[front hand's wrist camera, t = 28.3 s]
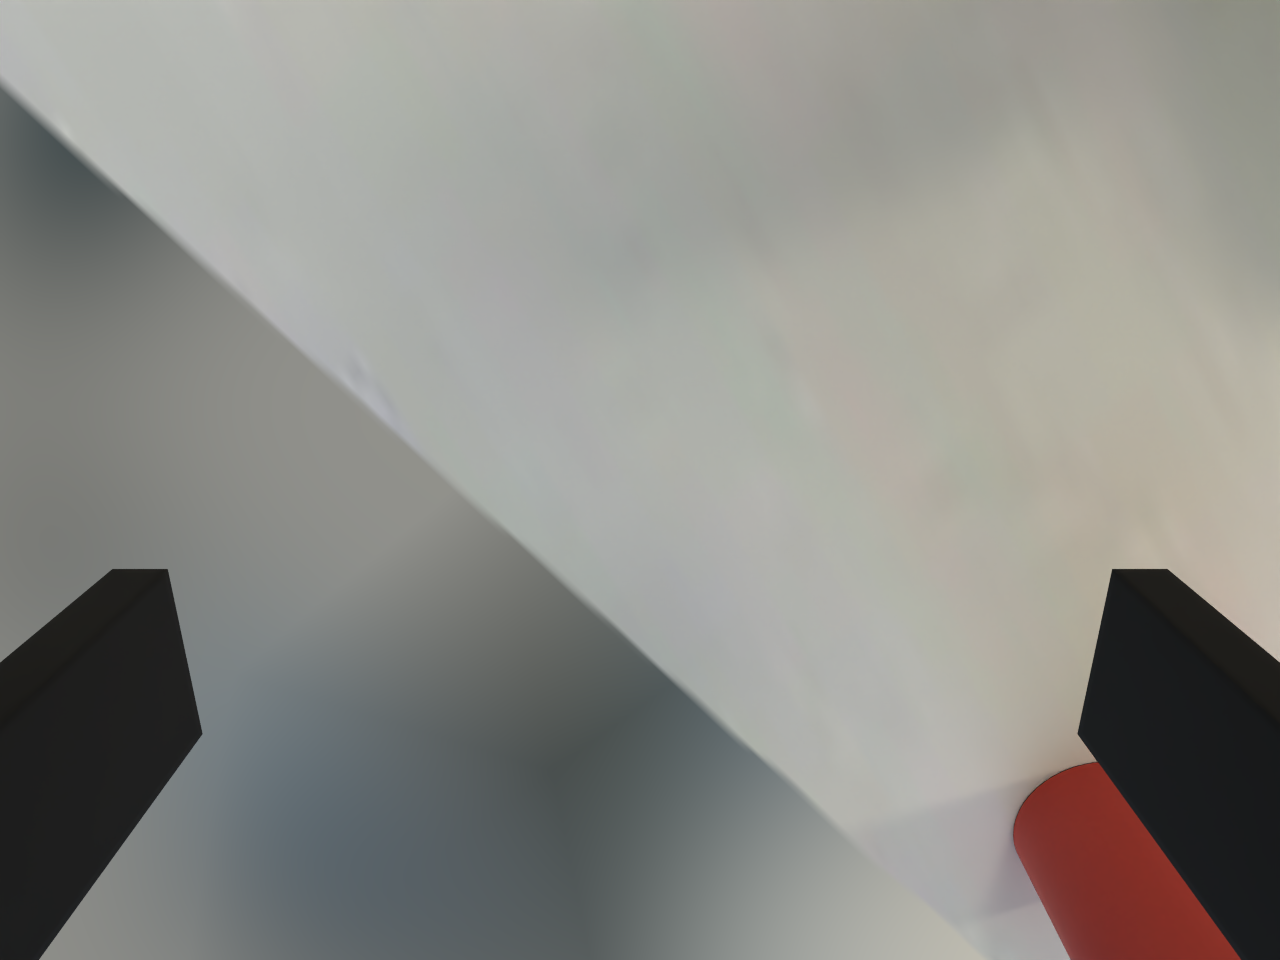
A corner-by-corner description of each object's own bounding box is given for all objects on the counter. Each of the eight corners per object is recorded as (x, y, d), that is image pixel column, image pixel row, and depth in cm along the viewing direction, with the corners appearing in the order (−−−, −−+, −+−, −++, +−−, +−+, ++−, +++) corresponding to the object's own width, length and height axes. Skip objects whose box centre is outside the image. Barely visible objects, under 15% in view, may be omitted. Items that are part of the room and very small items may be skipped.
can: (1207, 812, 47) (1387, 1035, 36) (1090, 908, 49) (1222, 1145, 38) (1095, 734, 45) (1246, 942, 34) (980, 838, 48) (1084, 1064, 36)
